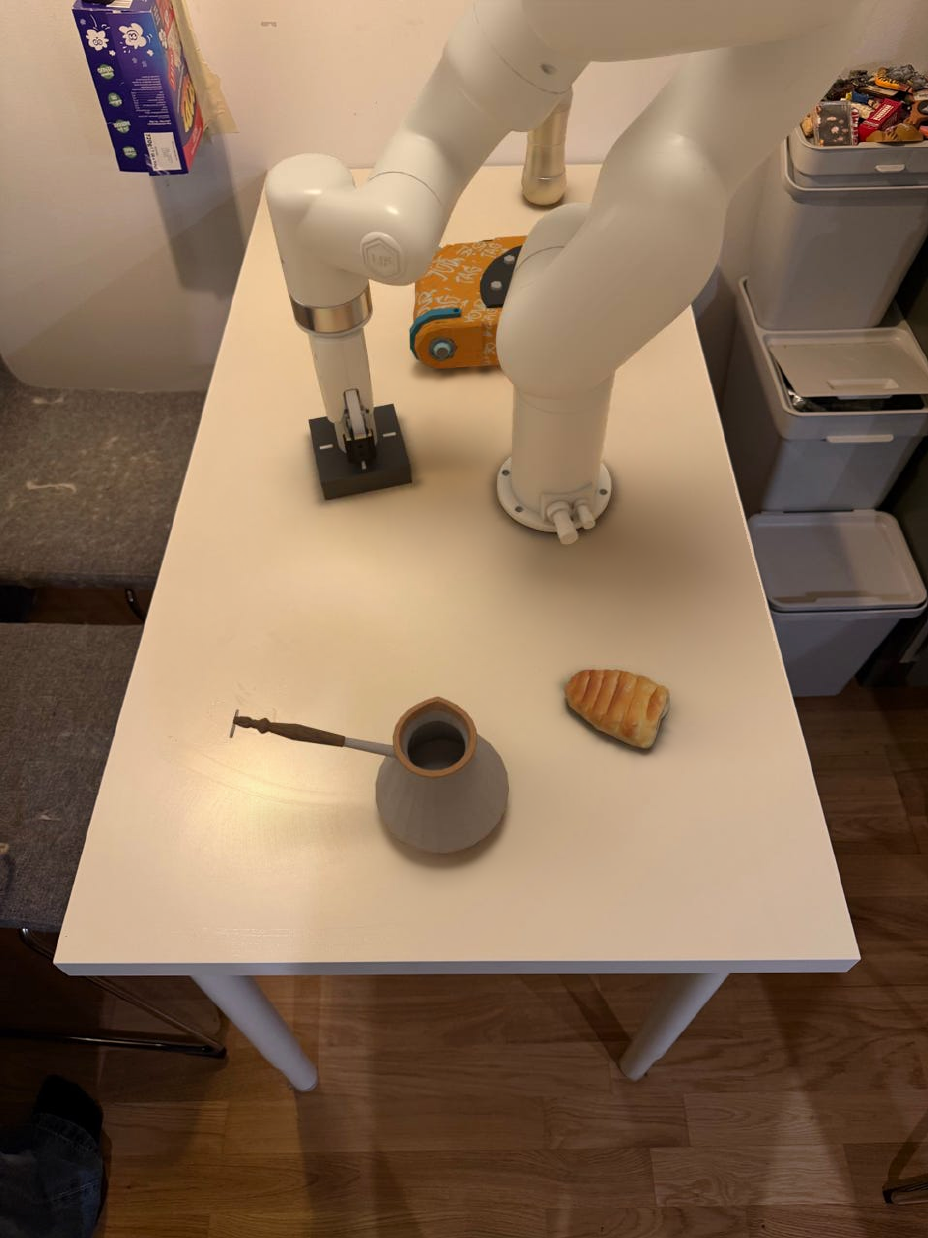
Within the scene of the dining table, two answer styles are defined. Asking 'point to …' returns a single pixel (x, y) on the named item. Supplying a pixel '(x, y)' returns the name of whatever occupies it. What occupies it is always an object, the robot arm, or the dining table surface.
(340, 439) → the timer knob
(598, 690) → the pastry
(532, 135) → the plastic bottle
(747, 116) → the robot arm
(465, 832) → the coffee pot
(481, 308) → the device
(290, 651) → the dining table surface
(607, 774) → the dining table surface
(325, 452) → the timer panel
